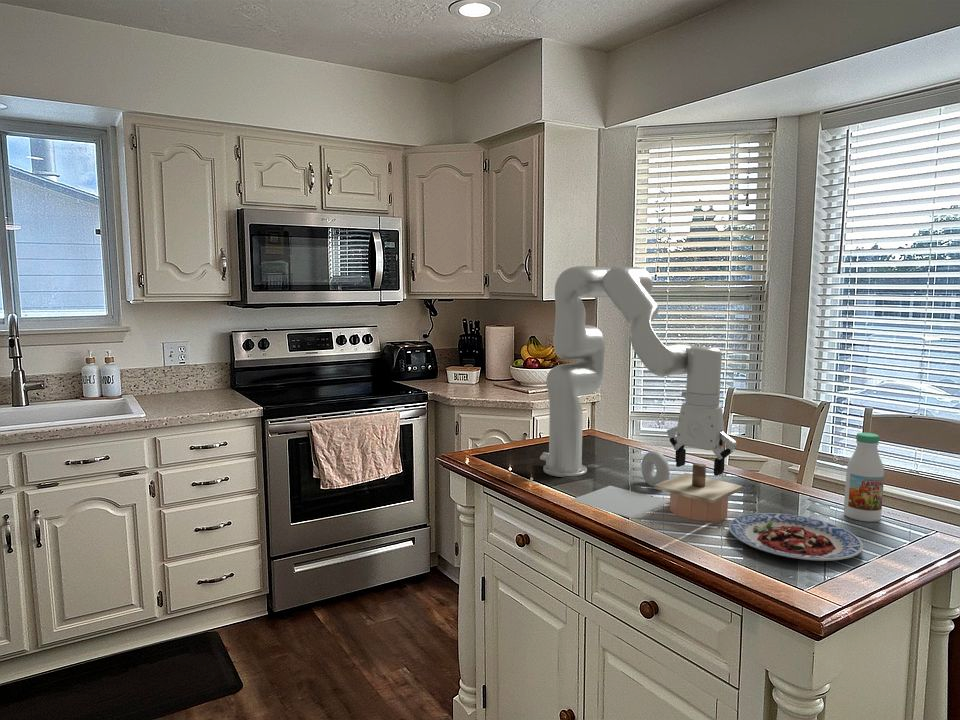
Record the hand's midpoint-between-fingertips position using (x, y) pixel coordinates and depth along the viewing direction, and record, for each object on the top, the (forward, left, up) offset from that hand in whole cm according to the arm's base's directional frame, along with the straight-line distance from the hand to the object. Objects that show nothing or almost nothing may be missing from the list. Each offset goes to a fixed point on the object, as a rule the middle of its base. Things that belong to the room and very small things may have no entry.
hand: (698, 470), depth 158 cm
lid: (0, 0, -5) cm, 5 cm away
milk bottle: (+28, +26, -11) cm, 40 cm away
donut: (-18, +10, -11) cm, 23 cm away
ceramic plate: (+23, -2, -11) cm, 26 cm away
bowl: (0, 0, -11) cm, 11 cm away
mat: (-17, -8, -11) cm, 21 cm away
